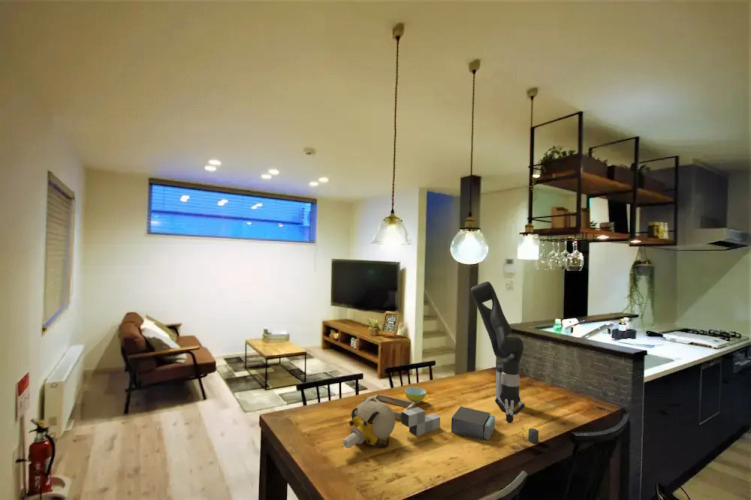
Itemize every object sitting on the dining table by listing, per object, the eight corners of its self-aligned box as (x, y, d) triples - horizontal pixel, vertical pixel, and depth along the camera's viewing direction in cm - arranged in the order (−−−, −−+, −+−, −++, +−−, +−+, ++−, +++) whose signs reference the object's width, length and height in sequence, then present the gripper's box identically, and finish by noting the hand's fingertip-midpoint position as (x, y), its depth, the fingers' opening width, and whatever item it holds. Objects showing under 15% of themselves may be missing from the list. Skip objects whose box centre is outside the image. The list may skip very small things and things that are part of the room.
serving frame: (377, 399, 200) (377, 393, 201) (415, 408, 190) (415, 402, 190) (362, 410, 186) (362, 404, 186) (401, 420, 175) (401, 414, 175)
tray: (462, 421, 176) (463, 408, 176) (494, 428, 169) (494, 415, 169) (455, 431, 165) (455, 418, 165) (489, 439, 158) (489, 426, 158)
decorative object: (368, 385, 170) (317, 409, 148) (406, 407, 156) (356, 438, 133) (365, 414, 173) (315, 443, 151) (403, 439, 158) (353, 475, 136)
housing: (460, 419, 178) (460, 406, 178) (489, 427, 171) (490, 413, 171) (451, 432, 164) (451, 417, 165) (482, 440, 158) (483, 425, 158)
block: (408, 439, 157) (408, 415, 157) (400, 435, 161) (401, 411, 161) (440, 428, 168) (440, 405, 169) (432, 424, 173) (432, 402, 173)
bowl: (427, 407, 192) (427, 395, 192) (405, 406, 192) (405, 394, 193) (424, 398, 204) (425, 387, 204) (404, 397, 204) (404, 386, 204)
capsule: (528, 437, 162) (529, 427, 162) (538, 440, 160) (538, 429, 160) (527, 441, 158) (528, 431, 158) (537, 444, 156) (538, 433, 156)
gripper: (493, 382, 160) (492, 422, 160) (525, 388, 154) (524, 429, 154) (496, 377, 167) (495, 416, 167) (527, 382, 161) (526, 422, 161)
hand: (509, 422), depth 160 cm, fingers closed
